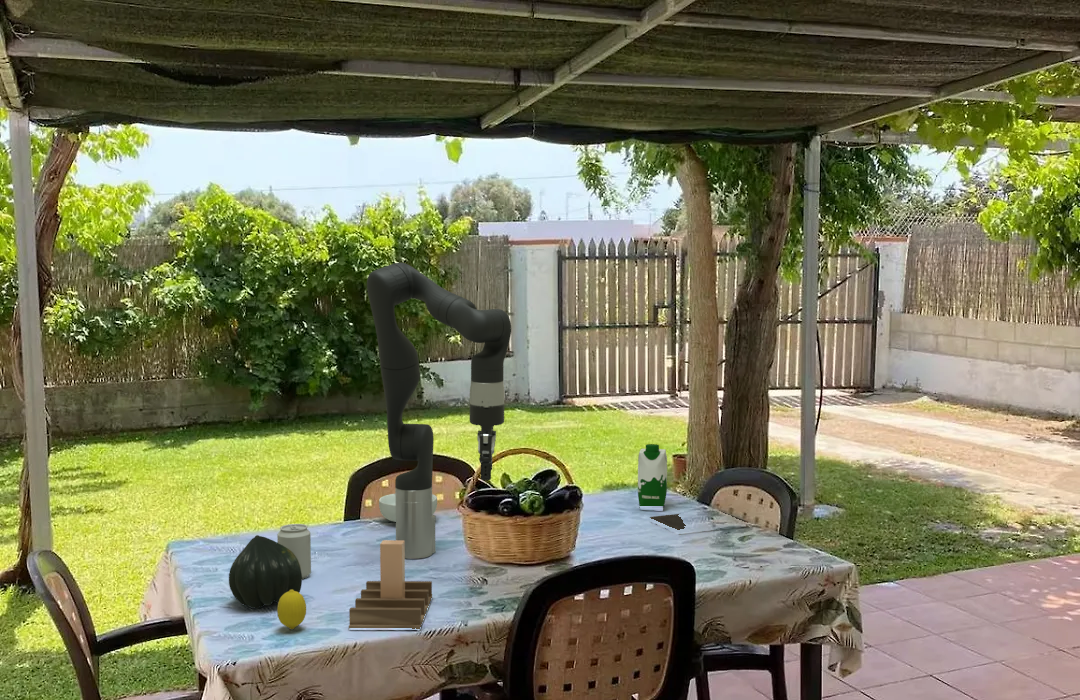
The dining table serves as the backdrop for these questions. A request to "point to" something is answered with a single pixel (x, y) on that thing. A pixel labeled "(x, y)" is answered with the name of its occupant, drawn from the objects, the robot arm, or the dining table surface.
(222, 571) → the dining table surface
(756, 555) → the dining table surface
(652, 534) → the dining table surface
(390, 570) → the clay bar
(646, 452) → the milk carton
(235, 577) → the squash
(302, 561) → the can
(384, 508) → the cereal bowl
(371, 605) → the drying rack
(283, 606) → the lemon
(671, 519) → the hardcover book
